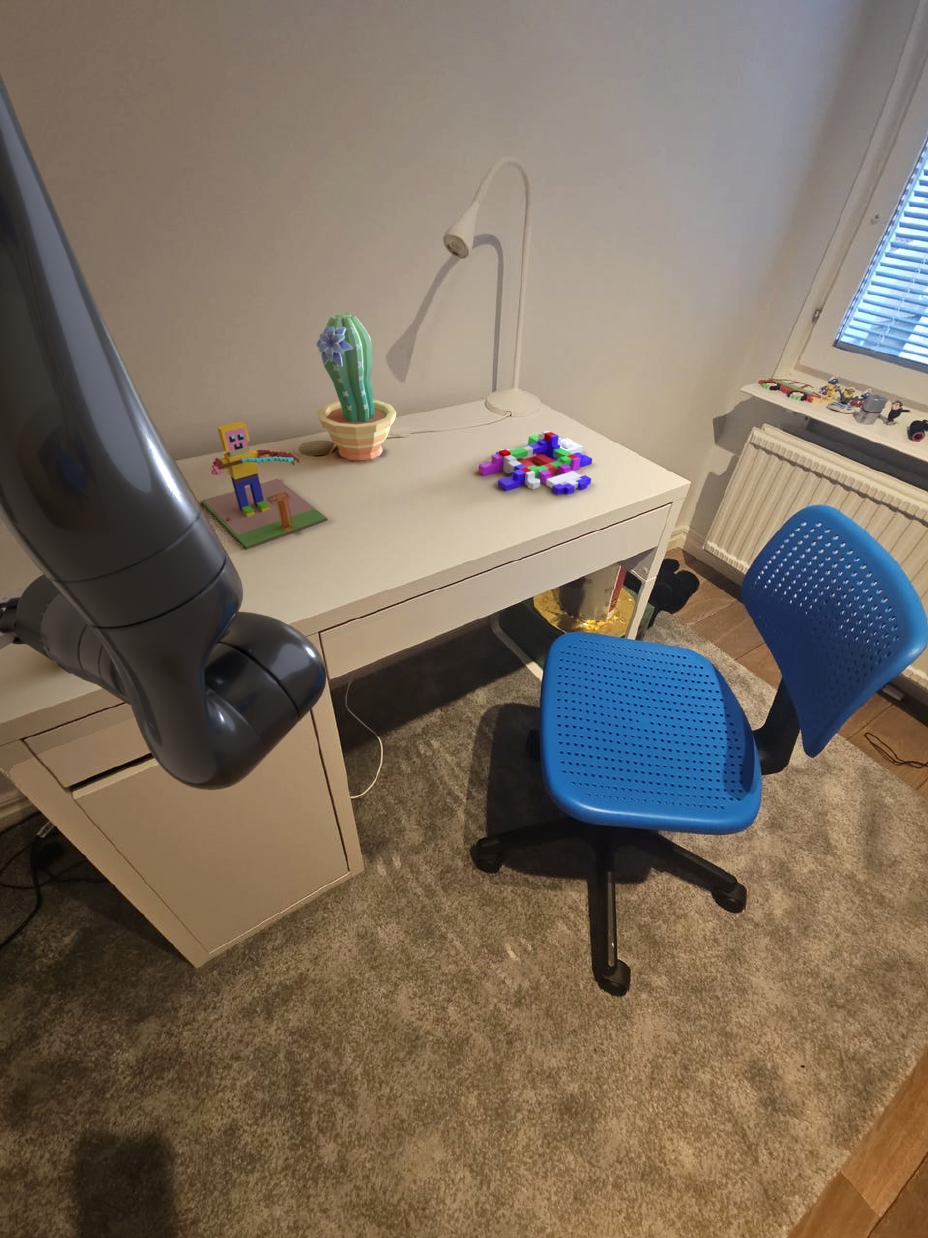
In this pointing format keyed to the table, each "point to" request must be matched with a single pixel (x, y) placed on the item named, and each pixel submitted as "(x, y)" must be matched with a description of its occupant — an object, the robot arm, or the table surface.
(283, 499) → the figurine
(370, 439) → the potted cactus
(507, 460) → the building block set
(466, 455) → the table surface
